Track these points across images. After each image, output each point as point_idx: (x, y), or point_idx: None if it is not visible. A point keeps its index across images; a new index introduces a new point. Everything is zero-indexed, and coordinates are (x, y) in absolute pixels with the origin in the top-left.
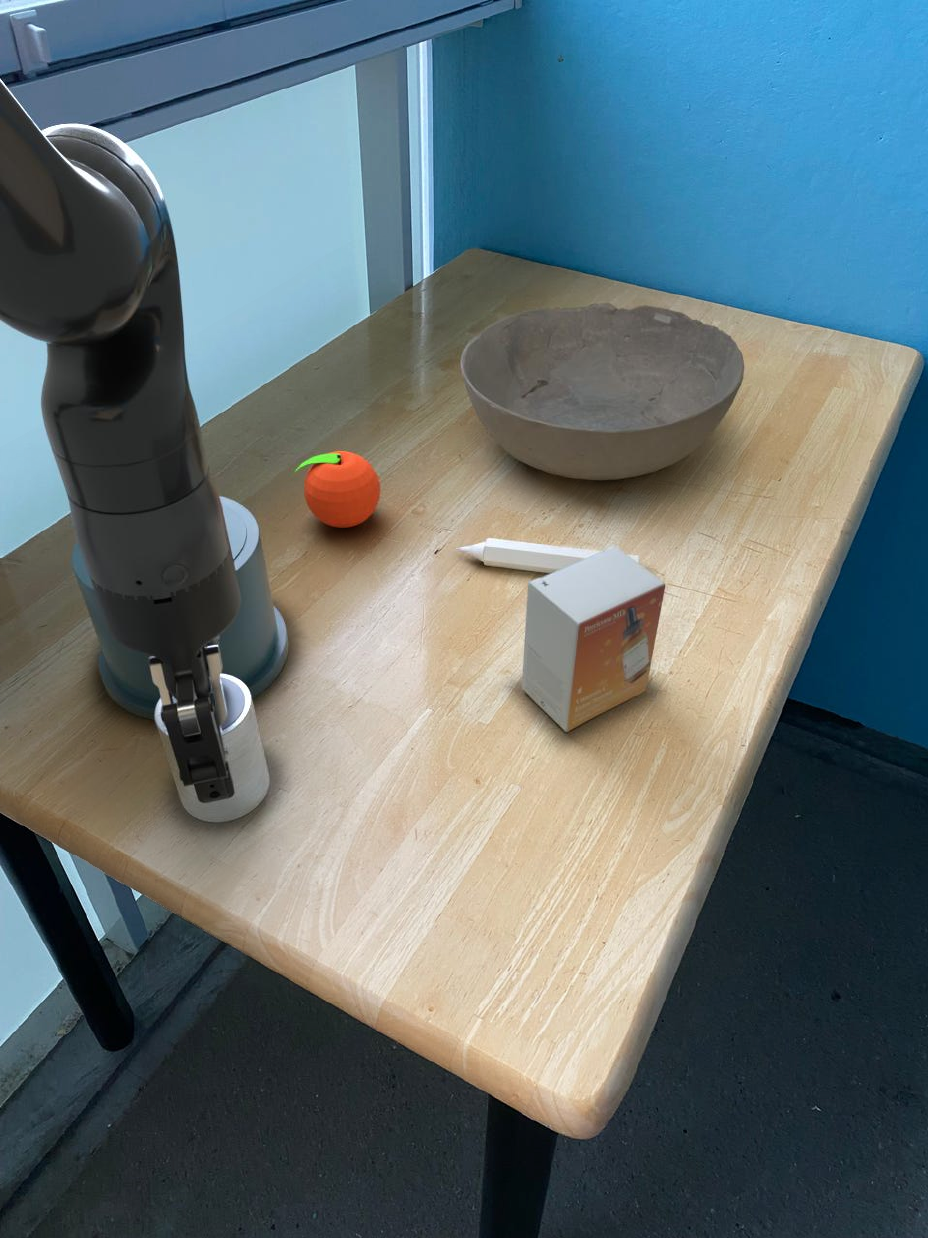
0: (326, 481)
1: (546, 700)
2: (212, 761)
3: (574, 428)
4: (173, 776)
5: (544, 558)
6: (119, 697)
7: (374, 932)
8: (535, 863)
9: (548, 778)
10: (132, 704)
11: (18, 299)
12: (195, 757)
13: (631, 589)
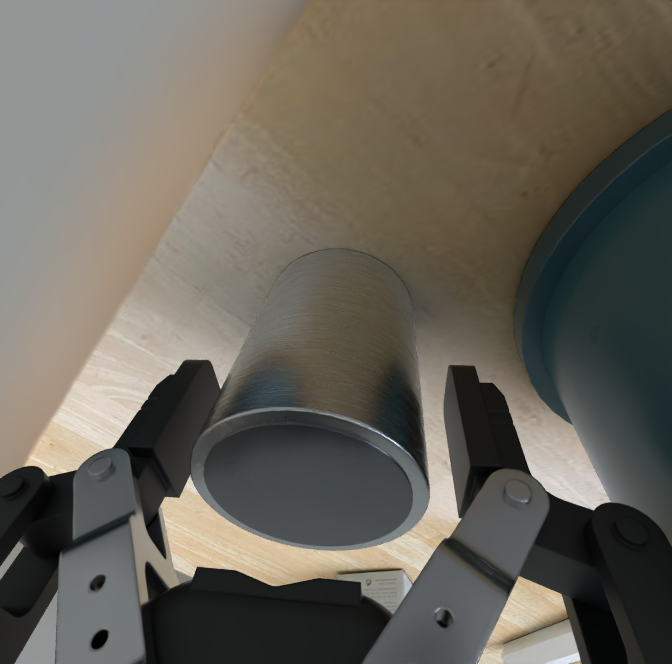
0: None
1: (362, 593)
2: (39, 552)
3: None
4: (294, 294)
5: (574, 644)
6: None
7: (117, 425)
8: (200, 525)
9: (289, 552)
10: (629, 163)
11: None
12: (54, 526)
13: None
